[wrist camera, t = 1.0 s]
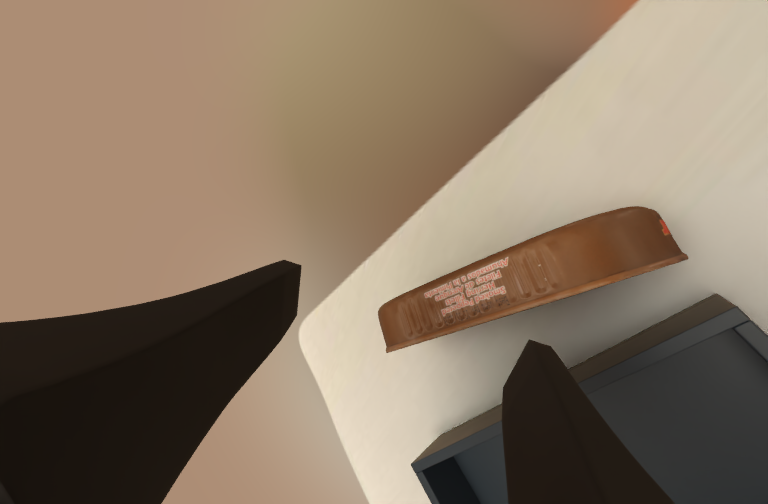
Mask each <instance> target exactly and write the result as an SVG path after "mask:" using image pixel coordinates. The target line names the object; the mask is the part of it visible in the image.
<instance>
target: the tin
mask: <svg viewBox="0 0 768 504" xmlns="http://www.w3.org/2000/svg"><path fill="white" fill-rule="evenodd" d="M687 259H688V256H687V255H686V254H684V253H682V252H681V250H680V248H679V247H678V245H677V244H676V242H675V240H674V239H673V237H672V235H671V233H670V231H669V230H668V228H667V226H666V224H665V222H664V221H663V219H662V218H661V216H660V215H659V214H658V213H657V212H656V211H655V210H652V209H648V208H645V207H639V206H636V207H626V208H620V209H616V210H613V211H609V212H605V213H601V214H598V215H594V216H591V217H588V218H585V219H582V220H579V221H576V222H573V223H570V224H567V225H565V226H562V227H559V228H557V229H554V230H551V231H549V232H546V233H544V234H541V235H539V236H536V237H534V238H531V239H529V240H526V241H524V242H522V243H520V244H517V245H515V246H512V247H510V248H508V249H505V250H503V251H501V252H498V253H496V254H493V255H491V256H488V257H486V258H484V259H482V260H479V261H477V262H474V263H472V264H470V265H468V266H465V267H463V268H461V269H458V270H456V271H454V272H451V273H449V274H447V275H444V276H442V277H440V278H438V279H436V280H433V281H431V282H429V283H426V284H424V285H422V286H420V287H418V288H415V289H413V290H411V291H409V292H406V293H404V294H402V295H400V296H398V297H396V298H394V299H392V300H390V301H388V302H387V303H385V304H384V305H382V306H381V307H380V309H379V311H378V316H379V321H380V325H381V329H382V332H383V335H384V339H385V342H386V346H387V348H386V352H387V353H389V352H392V351H395V350H398V349H402V348H405V347H408V346H411V345H414V344H418V343H421V342H424V341H427V340H431V339H434V338H437V337H440V336H444V335H447V334H451V333H454V332H457V331H460V330H463V329H466V328H469V327H472V326H475V325H479V324H482V323H485V322H489V321H492V320H495V319H498V318H502V317H505V316H508V315H511V314H514V313H518V312H521V311H524V310H528V309H531V308H534V307H537V306H541V305H544V304H547V303H550V302H554V301H557V300H560V299H563V298H567V297H570V296H573V295H576V294H580V293H583V292H586V291H589V290H592V289H595V288H599V287H602V286H605V285H608V284H611V283H615V282H617V281H621V280H624V279H627V278H630V277H634V276H637V275H640V274H643V273H646V272H650V271H653V270H655V269H659V268H662V267H665V266H668V265H671V264H675V263H678V262H681V261H683V260H687Z"/></svg>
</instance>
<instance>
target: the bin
mask: <svg viewBox="0 0 768 504" xmlns="http://www.w3.org/2000/svg"><path fill="white" fill-rule="evenodd" d="M568 371H569V372H570V374H571V375H572V376H573V378H574V379H575V381H576V382H577V383H578V385H579V386H580V388H581V389H582V390H583V392H584V393H585V395H586V396H587V397H588V399H589V400H590V401H591V403H592V404H593V406H594V407H595V408H596V410H597V411H598V412H599V414H600V415H601V416H602V418H603V419H604V420H605V421H606V423H607V424H608V425H609V427H610V428H611V429H612V430H613V432H614V433H615V434H616V435H617V437H618V438H619V439H620V440H621V442H622V443H623V444H624V445H625V447H626V448H627V449H628V450H629V452H630V453H631V454H632V455H633V456H634V458H635V459H636V460H637V461H638V462H639V463H640V465H641V466H642V467H643V468H644V469H645V470H646V472H647V473H648V474H649V475H650V476H651V477H652V478H653V479H654V481H655V482H656V483H657V484H658V485H659V486H660V487H661V488H662V489H663V490H664V492H665V493H666V494H667V495H668V496H669V497H670V498H671V499H672V500H673V502H674V503H675V504H768V335H766V334H765V333H764V332H763V331H762V330H761V329H760V328H759V327H758V326H757V325H756V324H755V323H754V322H753V321H751V320H750V319H749V317H748V316H746V315H745V314H744V313H743V312H742V311H741V310H740V309H739V308H738V307H737V306H735V305H734V304H732V303H731V302H729V301H727V300H726V299H724V298H723V297H721V296H720V295H718V294H714V295H712V296H710V297H708V298H706V299H705V300H703V301H701V302H699V303H697V304H695V305H693V306H691V307H689V308H687V309H685V310H683V311H681V312H679V313H677V314H675V315H673V316H671V317H670V318H668V319H666V320H664V321H662V322H660V323H658V324H656V325H654V326H652V327H650V328H648V329H646V330H644V331H642V332H640V333H638V334H637V335H635V336H633V337H631V338H629V339H627V340H625V341H623V342H621V343H619V344H617V345H615V346H613V347H611V348H609V349H607V350H605V351H604V352H602V353H600V354H598V355H596V356H594V357H592V358H590V359H588V360H586V361H584V362H582V363H580V364H578V365H576V366H574V367H572V368H570V369H569V370H568ZM411 466H412V468H413V470H414V472H415V473H416V475H417V477H418V479H419V481H420V483H421V484H422V486H423V488H424V490H425V492H426V494H427V496H428V498H429V499H430V501H431V503H432V504H508V494H507V482H506V470H505V458H504V446H503V433H502V404H501V405H499V406H497V407H495V408H493V409H491V410H489V411H487V412H485V413H483V414H481V415H479V416H477V417H475V418H473V419H471V420H469V421H468V422H466V423H464V424H462V425H460V426H458V427H456V428H454V429H452V430H450V431H448V432H446V433H444V434H442V435H440V436H439V437H438V438H437V439H436V440H435V441H434V442H433V443H432V444H431V445H430V446H429V447H428V448H427V449H426V450H425V451H424V452H423V453H422V454H421V455H420V456H419V457H418V458H417V459H416V460H415V461H414V462H413V463H411Z"/></svg>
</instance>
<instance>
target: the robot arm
mask: <svg viewBox="0 0 768 504" xmlns="http://www.w3.org/2000/svg"><path fill="white" fill-rule="evenodd" d="M300 276H301V265H298V264H295V263H292V262H289V261H286V260H282V261H279V262H276V263H273V264H270V265H267V266H264V267H261V268H259V269H256V270H253V271H251V272H248V273H245V274H242V275H239V276H236V277H234V278H231V279H228V280H225V281H222V282H219V283H216V284H212V285H209V286H206V287H203V288H200V289H197V290H193V291H190V292H187V293H183V294H179V295H176V296H172V297H168V298H164V299H160V300H155V301H151V302H147V303H142V304H137V305H132V306H126V307H121V308H116V309H110V310H104V311H98V312H93V313H86V314H79V315H72V316H64V317H56V318H46V319H38V320H28V321H17V322H3V323H0V504H161V503H162V502H163V500H164V498H165V497H166V495H167V493H168V492H169V491H170V489H171V487H172V485H173V484H174V483H175V481H176V479H177V478H178V476H179V475H180V473H181V471H182V470H183V469H184V467H185V466H186V464H187V462H188V461H189V459H190V458H191V457H192V455H193V453H194V452H195V450H196V449H197V447H198V446H199V444H200V443H201V441H202V440H203V438H204V437H205V436H206V434H207V433H208V431H209V430H210V428H211V427H212V426H213V424H214V423H215V421H216V420H217V418H218V417H219V415H220V414H221V413H222V411H223V410H224V408H225V407H226V406H227V405H228V403H229V402H230V401H231V399H232V398H233V397H234V396H235V394H236V393H237V392H238V391H239V390H240V388H241V387H242V386H243V385H244V384H245V383H246V381H247V380H248V379H249V378H250V377H251V375H252V374H253V373H254V372H255V371H256V369H257V368H258V367H259V366H260V365H261V364H262V362H263V361H264V360H265V359H266V358H267V357H268V355H269V354H270V353H271V352H272V351H273V349H274V348H275V347H276V346H277V344H278V343H279V342H280V341H281V339H282V338H283V336H284V335H285V333H286V332H287V330H288V329H289V327H290V325H291V324H292V322H293V320H294V319H295V317H296V316H297V307H298V297H299V286H300ZM502 433H503V446H504V458H505V470H506V482H507V494H508V504H675V503H674V502H673V500H672V499H671V498H670V497H669V496H668V495H667V494H666V493H665V492H664V490H663V489H662V488H661V487H660V486H659V485H658V484H657V483H656V482H655V481H654V479H653V478H652V477H651V476H650V475H649V474H648V473H647V472H646V470H645V469H644V468H643V467H642V466H641V465H640V463H639V462H638V461H637V460H636V459H635V458H634V456H633V455H632V454H631V453H630V452H629V450H628V449H627V448H626V447H625V445H624V444H623V443H622V442H621V440H620V439H619V438H618V437H617V435H616V434H615V433H614V432H613V430H612V429H611V428H610V427H609V425H608V424H607V423H606V421H605V420H604V419H603V418H602V416H601V415H600V414H599V412H598V411H597V410H596V408H595V407H594V406H593V404H592V403H591V401H590V400H589V399H588V397H587V396H586V395H585V393H584V392H583V390H582V389H581V388H580V386H579V385H578V383H577V382H576V381H575V379H574V378H573V376H572V375H571V374H570V372H569V371H568V369H567V368H566V366H565V365H564V364H563V362H562V361H561V359H560V358H559V357H558V355H557V354H556V353H555V351H554V350H553V349H552V348H551V346H548V345H545V344H542V343H538V342H535V341H532V340H529V341H528V342H527V344H526V346H525V348H524V350H523V352H522V354H521V355H520V357H519V359H518V361H517V363H516V365H515V367H514V368H513V370H512V372H511V374H510V376H509V378H508V380H507V381H506V383H505V385H504V387H503V401H502Z"/></svg>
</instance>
